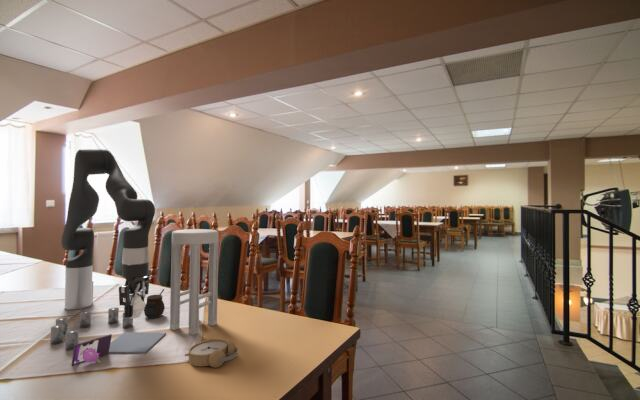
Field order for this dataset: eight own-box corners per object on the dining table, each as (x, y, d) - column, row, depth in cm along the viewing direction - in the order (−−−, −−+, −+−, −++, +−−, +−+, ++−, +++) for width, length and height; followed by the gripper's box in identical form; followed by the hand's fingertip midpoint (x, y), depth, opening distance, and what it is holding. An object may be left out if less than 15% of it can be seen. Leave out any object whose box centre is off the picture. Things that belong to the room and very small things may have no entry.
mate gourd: (139, 318, 125) (139, 292, 125) (155, 312, 132) (155, 287, 132) (153, 321, 122) (153, 294, 122) (168, 314, 130) (169, 289, 130)
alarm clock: (206, 337, 102) (245, 337, 97) (208, 353, 102) (247, 354, 96) (178, 352, 92) (220, 353, 86) (180, 370, 92) (223, 372, 86)
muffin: (138, 320, 100) (138, 298, 100) (118, 320, 100) (119, 297, 100) (149, 313, 106) (149, 292, 107) (130, 313, 107) (131, 291, 107)
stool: (225, 323, 122) (226, 230, 122) (193, 338, 108) (195, 233, 108) (194, 316, 128) (196, 228, 128) (160, 330, 114) (162, 231, 114)
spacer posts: (81, 320, 122) (82, 307, 122) (140, 320, 122) (140, 307, 122) (25, 350, 97) (25, 333, 97) (98, 350, 98) (98, 333, 98)
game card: (110, 332, 95) (73, 343, 88) (117, 342, 93) (80, 354, 85) (106, 351, 97) (70, 363, 89) (113, 362, 94) (76, 375, 87)
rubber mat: (124, 334, 110) (124, 332, 110) (165, 334, 111) (166, 332, 111) (97, 353, 96) (97, 351, 96) (145, 353, 97) (145, 351, 97)
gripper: (135, 257, 111) (134, 306, 111) (109, 265, 96) (108, 321, 96) (157, 257, 111) (156, 306, 111) (135, 265, 96) (134, 321, 96)
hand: (134, 313), depth 103 cm, fingers closed on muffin, 6 cm apart
